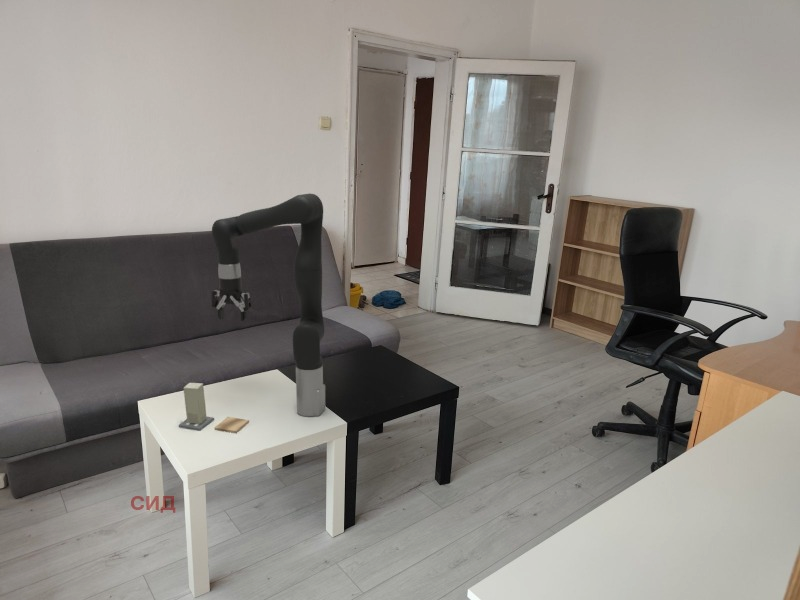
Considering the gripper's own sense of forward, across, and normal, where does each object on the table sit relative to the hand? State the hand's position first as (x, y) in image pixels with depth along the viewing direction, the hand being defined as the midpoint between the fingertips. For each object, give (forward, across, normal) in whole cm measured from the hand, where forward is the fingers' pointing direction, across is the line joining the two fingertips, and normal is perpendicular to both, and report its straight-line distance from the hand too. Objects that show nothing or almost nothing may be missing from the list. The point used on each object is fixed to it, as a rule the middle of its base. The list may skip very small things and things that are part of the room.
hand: (232, 319), depth 199 cm
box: (+29, +2, +23) cm, 37 cm away
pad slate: (+30, +2, +23) cm, 37 cm away
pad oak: (+30, -10, +21) cm, 38 cm away
